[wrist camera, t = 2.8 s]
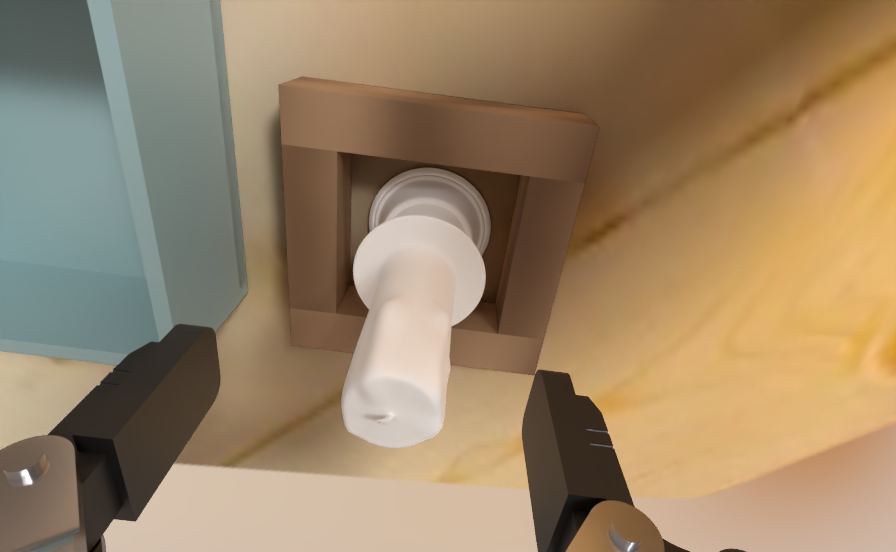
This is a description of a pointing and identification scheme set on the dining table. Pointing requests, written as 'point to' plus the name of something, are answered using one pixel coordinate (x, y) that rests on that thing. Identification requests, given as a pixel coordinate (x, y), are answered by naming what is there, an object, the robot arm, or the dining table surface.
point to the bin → (114, 176)
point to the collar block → (437, 142)
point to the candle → (413, 303)
